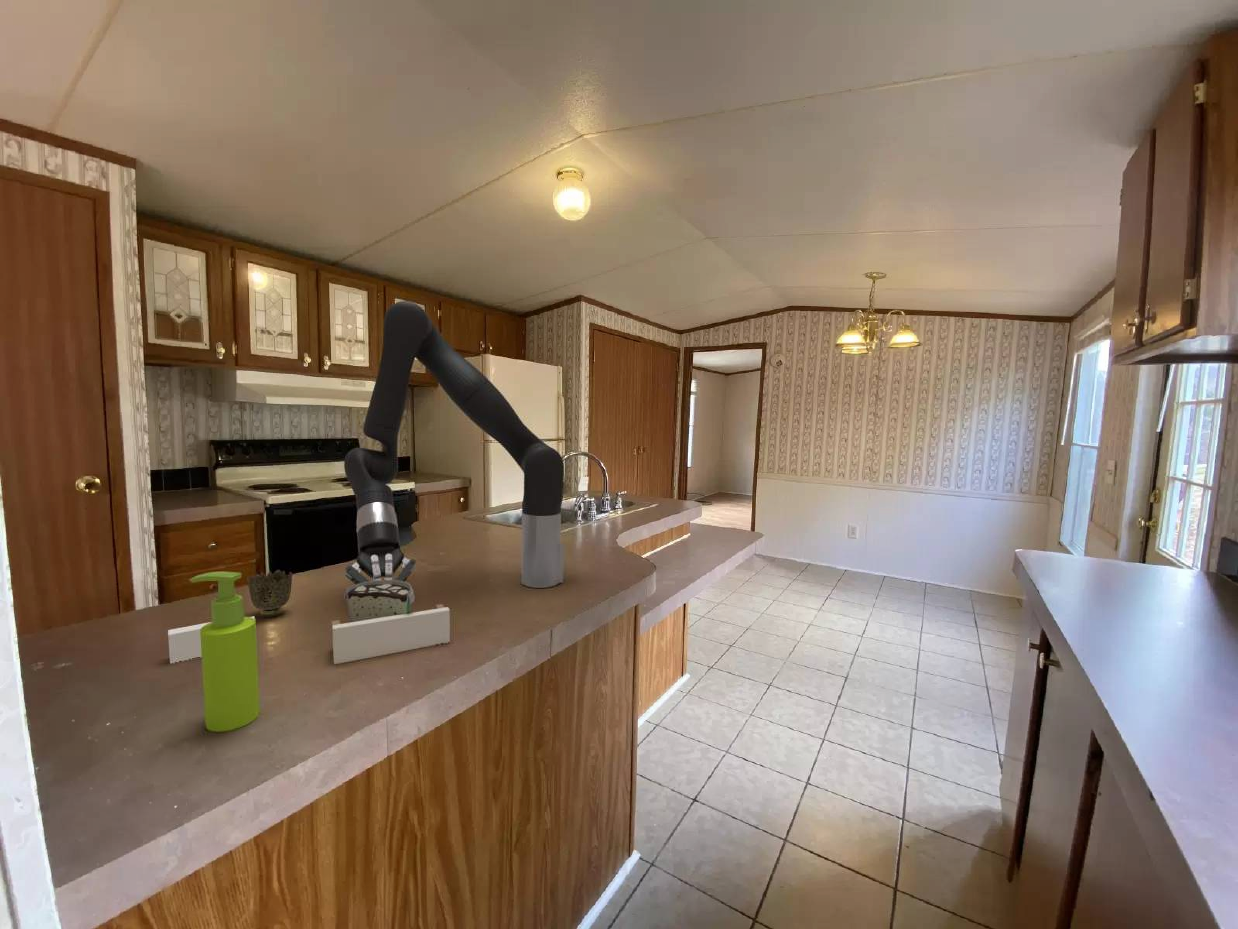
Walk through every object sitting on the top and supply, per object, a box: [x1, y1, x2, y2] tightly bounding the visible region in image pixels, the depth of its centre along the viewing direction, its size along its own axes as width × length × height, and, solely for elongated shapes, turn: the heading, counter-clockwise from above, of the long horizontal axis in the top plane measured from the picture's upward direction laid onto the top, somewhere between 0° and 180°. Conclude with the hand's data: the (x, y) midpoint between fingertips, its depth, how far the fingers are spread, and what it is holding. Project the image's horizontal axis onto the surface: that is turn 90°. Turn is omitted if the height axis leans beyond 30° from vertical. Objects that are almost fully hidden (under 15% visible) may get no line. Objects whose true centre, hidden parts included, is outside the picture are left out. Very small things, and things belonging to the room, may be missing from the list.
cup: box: [246, 569, 293, 618], centre depth 105 cm, size 8×7×8 cm
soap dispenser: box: [188, 571, 261, 733], centre depth 71 cm, size 6×7×20 cm
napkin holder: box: [167, 615, 257, 665], centre depth 89 cm, size 15×11×6 cm
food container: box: [343, 579, 415, 623], centre depth 97 cm, size 12×6×10 cm, turn 85°
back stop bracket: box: [331, 603, 451, 665], centre depth 94 cm, size 18×6×6 cm, turn 120°
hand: (385, 610), depth 99 cm, fingers closed
